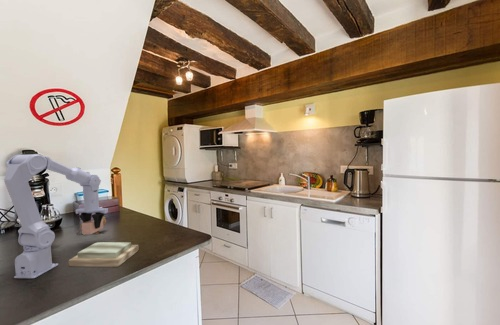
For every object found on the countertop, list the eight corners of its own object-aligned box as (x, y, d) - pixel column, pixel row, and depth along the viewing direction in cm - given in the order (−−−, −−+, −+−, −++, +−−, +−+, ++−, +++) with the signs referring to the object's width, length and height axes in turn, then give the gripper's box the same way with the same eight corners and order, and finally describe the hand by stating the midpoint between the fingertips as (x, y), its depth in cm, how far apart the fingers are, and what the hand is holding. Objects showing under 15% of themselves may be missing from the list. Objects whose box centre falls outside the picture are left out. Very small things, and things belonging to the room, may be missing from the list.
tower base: (118, 266, 84) (117, 255, 84) (68, 266, 85) (68, 255, 85) (138, 250, 98) (138, 240, 98) (96, 250, 99) (95, 240, 99)
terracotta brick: (90, 234, 100) (90, 223, 100) (82, 234, 100) (81, 223, 100) (103, 228, 108) (102, 218, 108) (95, 228, 108) (95, 218, 108)
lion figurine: (108, 230, 125) (107, 214, 125) (105, 233, 120) (104, 217, 120) (78, 233, 121) (77, 217, 121) (73, 237, 116) (72, 220, 116)
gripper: (111, 197, 107) (113, 225, 108) (83, 198, 108) (85, 225, 109) (101, 201, 100) (102, 230, 101) (71, 201, 101) (72, 230, 102)
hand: (92, 228), depth 104 cm, fingers closed on terracotta brick, 4 cm apart
